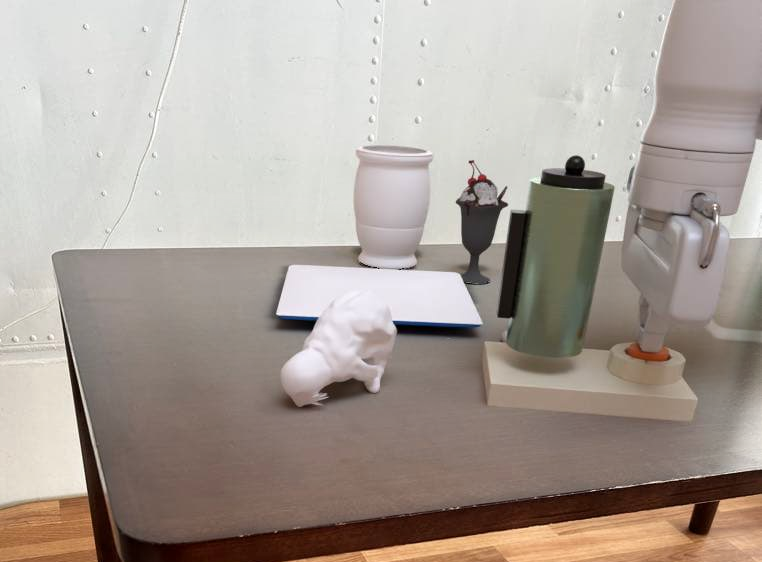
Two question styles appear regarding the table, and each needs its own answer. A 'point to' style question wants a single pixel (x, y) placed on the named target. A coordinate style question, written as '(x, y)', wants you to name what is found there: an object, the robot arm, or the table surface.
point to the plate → (381, 294)
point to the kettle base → (589, 383)
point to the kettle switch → (647, 353)
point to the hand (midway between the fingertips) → (646, 347)
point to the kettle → (554, 260)
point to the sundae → (479, 220)
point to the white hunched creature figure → (342, 347)
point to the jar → (391, 204)
